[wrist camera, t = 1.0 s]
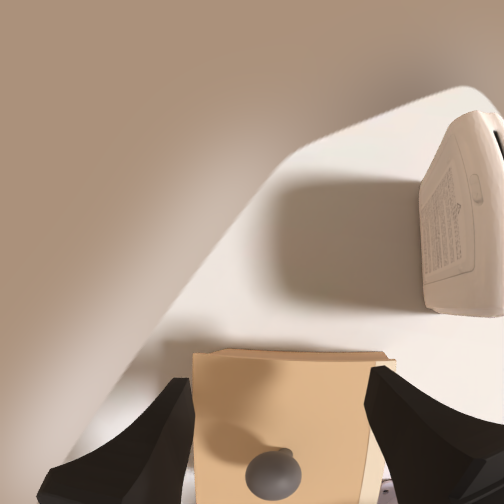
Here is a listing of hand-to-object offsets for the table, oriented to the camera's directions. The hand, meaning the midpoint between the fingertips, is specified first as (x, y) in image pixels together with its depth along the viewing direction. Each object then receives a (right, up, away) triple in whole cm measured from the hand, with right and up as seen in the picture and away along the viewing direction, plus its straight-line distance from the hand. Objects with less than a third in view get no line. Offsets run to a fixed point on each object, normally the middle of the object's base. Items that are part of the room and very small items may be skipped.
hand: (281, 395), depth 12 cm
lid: (+1, -7, +5) cm, 9 cm away
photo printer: (+13, +6, +10) cm, 18 cm away
